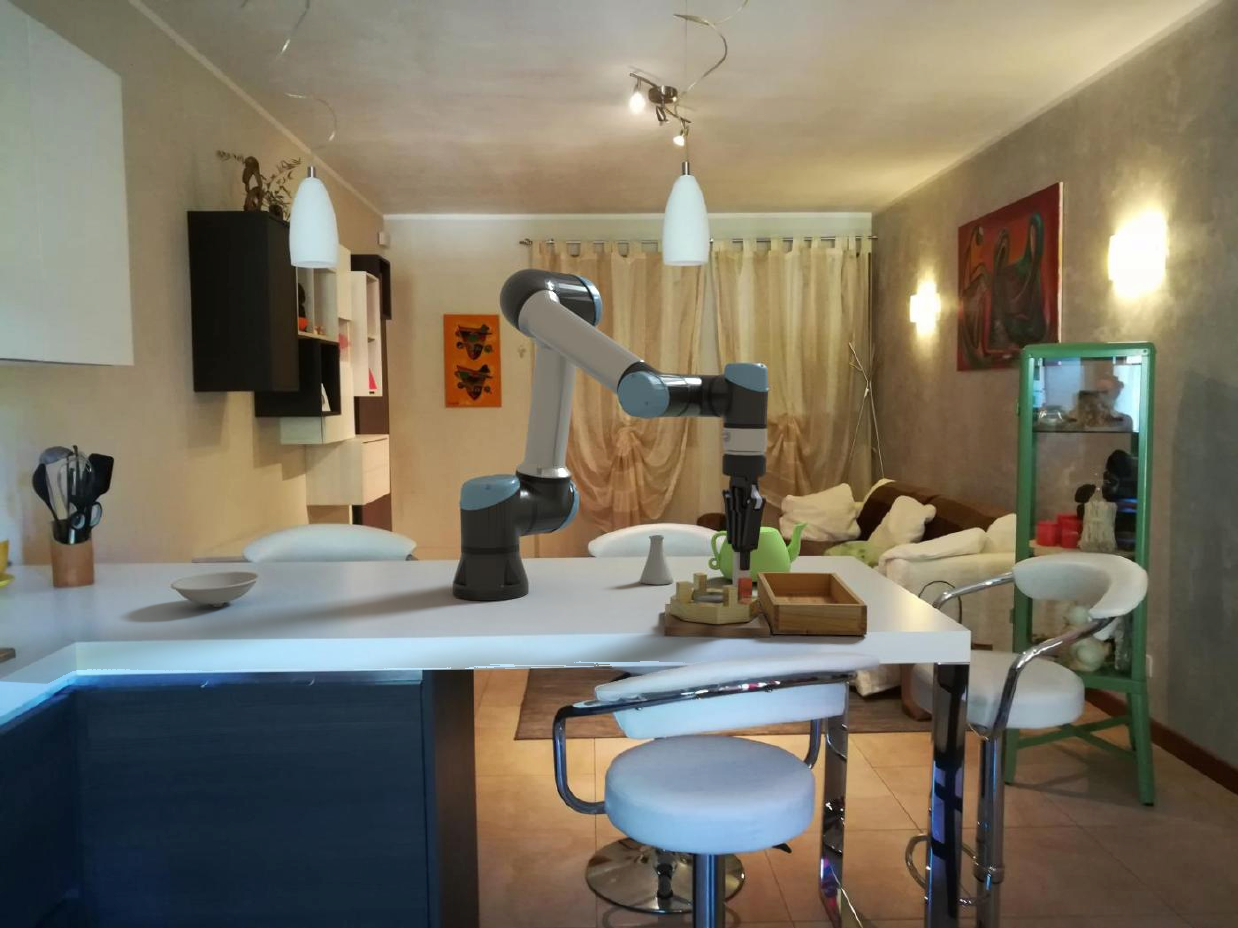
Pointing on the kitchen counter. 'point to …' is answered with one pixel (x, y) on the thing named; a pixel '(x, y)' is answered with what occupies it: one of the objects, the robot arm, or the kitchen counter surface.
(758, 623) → the walnut base
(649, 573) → the flask
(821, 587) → the tray
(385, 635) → the kitchen counter surface
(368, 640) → the kitchen counter surface
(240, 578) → the dish
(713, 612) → the ring nut
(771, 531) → the teapot
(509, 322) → the robot arm
